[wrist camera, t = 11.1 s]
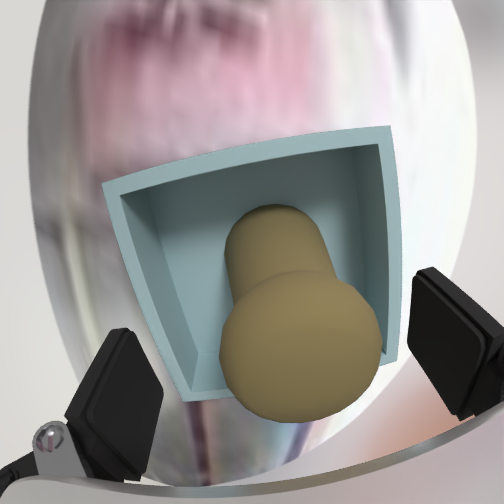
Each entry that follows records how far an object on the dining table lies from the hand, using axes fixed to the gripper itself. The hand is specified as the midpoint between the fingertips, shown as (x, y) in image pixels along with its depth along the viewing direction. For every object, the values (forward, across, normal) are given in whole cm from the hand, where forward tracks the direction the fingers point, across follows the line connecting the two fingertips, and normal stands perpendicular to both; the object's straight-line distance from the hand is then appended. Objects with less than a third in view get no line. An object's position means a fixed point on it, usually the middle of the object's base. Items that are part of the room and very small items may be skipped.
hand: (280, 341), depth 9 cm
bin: (+10, 0, +1) cm, 10 cm away
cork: (+9, -1, +1) cm, 9 cm away
